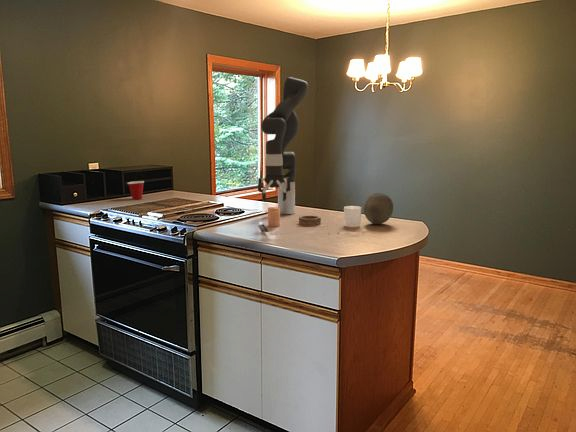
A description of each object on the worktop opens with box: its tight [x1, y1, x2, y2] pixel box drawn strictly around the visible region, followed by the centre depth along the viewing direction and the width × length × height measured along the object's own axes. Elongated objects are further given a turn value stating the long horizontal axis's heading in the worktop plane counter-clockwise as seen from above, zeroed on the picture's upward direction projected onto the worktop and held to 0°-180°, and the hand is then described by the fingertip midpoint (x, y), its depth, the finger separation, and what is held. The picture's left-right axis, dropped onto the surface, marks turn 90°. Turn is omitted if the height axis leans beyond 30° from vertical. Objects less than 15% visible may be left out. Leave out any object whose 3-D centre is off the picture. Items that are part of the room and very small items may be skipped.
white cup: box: [343, 205, 362, 228], centre depth 208 cm, size 8×8×10 cm
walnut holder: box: [292, 215, 329, 228], centre depth 213 cm, size 14×14×4 cm
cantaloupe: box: [363, 192, 394, 226], centre depth 217 cm, size 14×14×15 cm
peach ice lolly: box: [267, 206, 281, 228], centre depth 207 cm, size 9×6×9 cm, turn 10°
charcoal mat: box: [258, 224, 269, 233], centre depth 211 cm, size 14×12×1 cm
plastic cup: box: [127, 180, 145, 201], centre depth 307 cm, size 11×11×12 cm
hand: (274, 201), depth 204 cm, fingers open, 8 cm apart
